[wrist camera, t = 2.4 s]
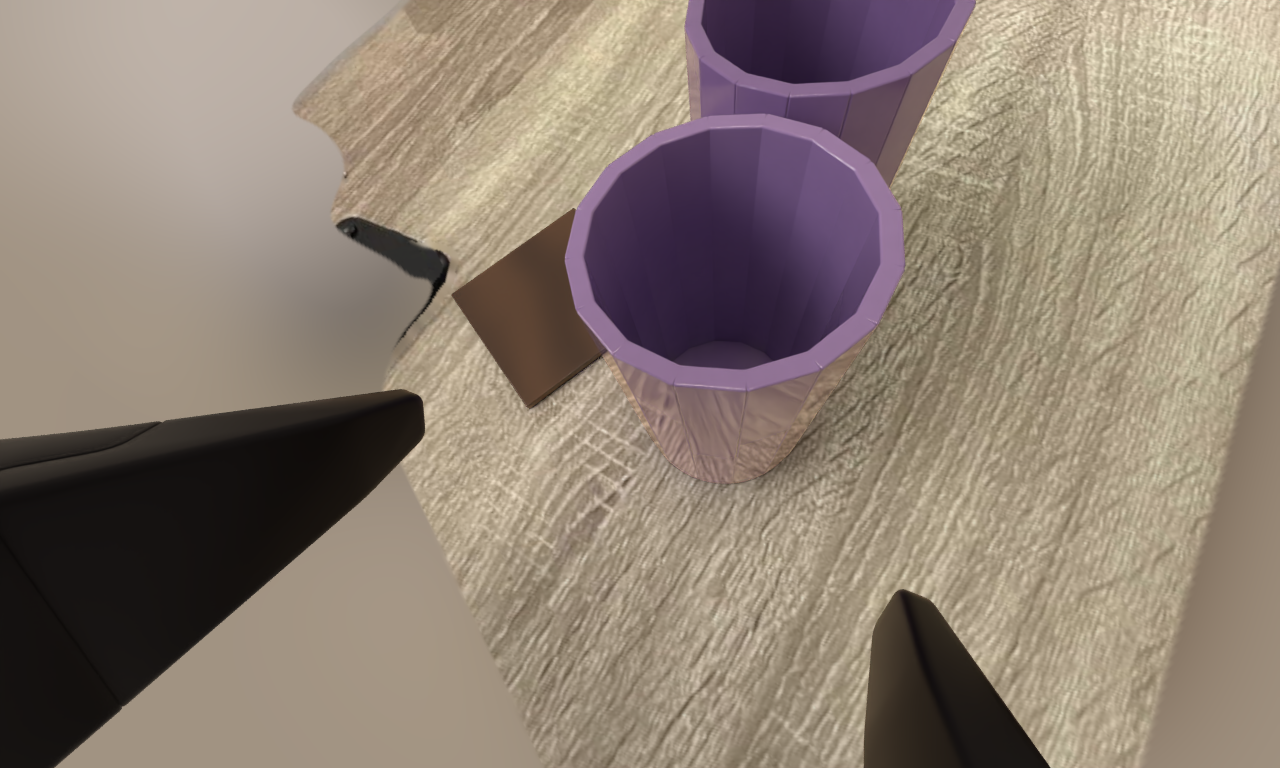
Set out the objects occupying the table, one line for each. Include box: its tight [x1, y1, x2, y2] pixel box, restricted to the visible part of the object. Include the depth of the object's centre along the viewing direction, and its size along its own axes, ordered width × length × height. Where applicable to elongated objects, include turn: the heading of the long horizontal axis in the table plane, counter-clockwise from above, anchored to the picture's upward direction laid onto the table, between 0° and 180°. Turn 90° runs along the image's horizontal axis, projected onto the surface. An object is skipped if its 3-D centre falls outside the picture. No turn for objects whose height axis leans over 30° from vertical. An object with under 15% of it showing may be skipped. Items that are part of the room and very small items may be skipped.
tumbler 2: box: [565, 113, 905, 484], centre depth 15 cm, size 7×7×12 cm
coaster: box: [452, 208, 602, 409], centre depth 24 cm, size 8×8×1 cm
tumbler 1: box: [685, 0, 976, 189], centre depth 17 cm, size 7×7×12 cm
